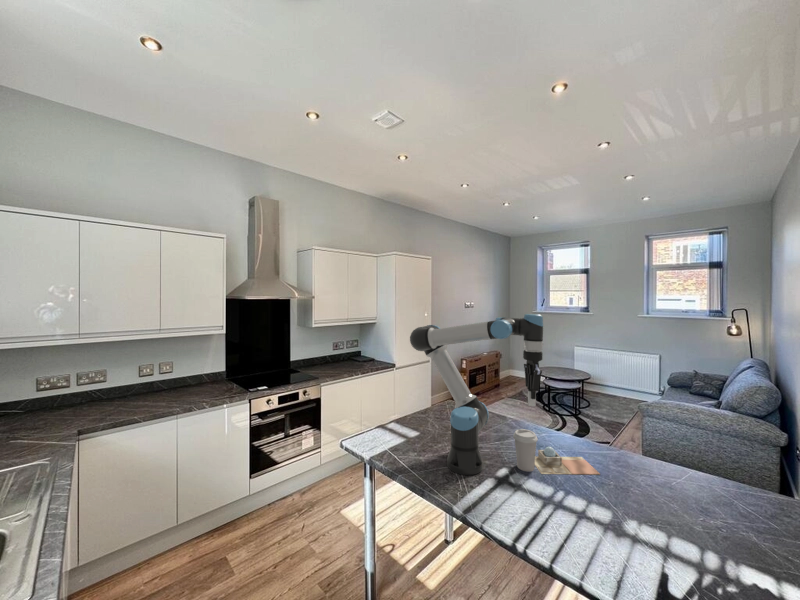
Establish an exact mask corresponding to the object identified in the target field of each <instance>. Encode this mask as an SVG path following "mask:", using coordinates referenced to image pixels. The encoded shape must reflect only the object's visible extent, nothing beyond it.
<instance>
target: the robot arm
mask: <svg viewBox="0 0 800 600" xmlns="http://www.w3.org/2000/svg"><path fill="white" fill-rule="evenodd" d="M510 336H521V337H523V345H522V347H523V348H522V349H523V350H522V355H523V357H522V358H523V360H525V361H526V363H523V368H524V380H525V387H527V406H528V407H536V404H537V403H536V401H537V392H539V390H540V385H541V376H542V373H543V369H540V365H539V364H540V363H539V362H541V361H543V346H544V341H543V338H544V316H542V315H541V314H538V313H535V314H534V313H526V314H524V316H523V317H522V318H521V317H520V318H516V317H515V318H514V317H504V316H503V317H496V318H495V319H494V320H490V321H483V322H477V323H469V324H463V325H456V326H448V327H442V328H441V327H440V326H438V325H436V324H435V325H433V324H429V325H425V326H424V325H423V326H418V327H416V328H415V329H413V330H412V332H411V333H410V336H409V342H410V345H411V346H412V348H413V349H415V350H416V351H418V352H424V354H425V356H426V357H428V358H431V360H432V362H433V364H434V366H435V367H436V369H437V371H438V373H439V375H440V376H441V379H442V380H443V382H444V384H445V386H446V388H447V389H448V391H449V394H450V395H451V396H452V398H453V401H454V403H455V405H454V409H453V410H452V411H451V412H450V418H449V422H450V449H449V452H448V455H447V457H446V465H447V468H448V469H449V470H450V471H452V472H453V473H456V474H459V475H462V476H463V475H464V476H472V475H476V474H479V473H481V472H482V471H483V468H484V460H483V457H482V455H481V452H480V449H479V433H480V432H481V430H482V429H483V428H484V427H485V426H486V425H487V423H488V421H489V416H490V415H489V414H490V413H489V410H488V407H487V405H486V404H485V403H484V402H481V401H480V400H479V398H478V397H477V395H475V394H472V393H471V391H470V389H469V387H468V385H467V384H466V382H465V380H464V379H463V377H462V375H461V373H460V371H459V369H458V368H457V366H456V364H455V363H454V361H453V359H452V357H451V355H450V353H449V351H448V350H447V347H448V345H449V346H450V345H456V344H465V343H473V342H474V343H475V342H481V341H482V342H483V341H489V340H504V339H508V338H509V337H510Z"/></svg>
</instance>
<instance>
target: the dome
mask: <svg viewBox="0 0 800 600" xmlns="http://www.w3.org/2000/svg"><path fill="white" fill-rule="evenodd" d="M543 450H544V455H545V456H546V457H555V451H556V450H555V449H554V448H553V447H552V446H546V447H545V448H544V449H543ZM554 450H555V451H554Z"/></svg>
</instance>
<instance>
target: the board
mask: <svg viewBox="0 0 800 600" xmlns="http://www.w3.org/2000/svg"><path fill="white" fill-rule="evenodd" d="M554 451H555V457H546V456H545V455H544V449H538V451H537V452H538V453H537V454H538V455H537V456H536V455H535V466H534V467H536V468H537V470H538V472H539V473H540V474H541V475H577V476H578V475H580V476H581V475H586V476H589V475H590V476H594V475H595V476H600V475H601V473H600V472H599V471H598V470H597V469H596V468H594V466H592V465H591V464H590V462H588V461H587V460H586V459H585V458H584V457H582V456H560V454H559V453H558V452H557V451H556V450H555V449H554Z"/></svg>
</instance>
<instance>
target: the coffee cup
mask: <svg viewBox="0 0 800 600" xmlns="http://www.w3.org/2000/svg"><path fill="white" fill-rule="evenodd" d="M512 437H513V439H514V446H515V455H516V456H515V457H516V467H517V469H519V470H521V471H522V472H528V473H529V472H533V471H534V470H535V467H536V466H535V456H536V452H537V451H536V450H537V442H538V440H539V439H538V436H537V435H536V433H535V432H534V431H532V430H529V429H523V428H520V429H516V430H515V431H514V433H513V435H512Z"/></svg>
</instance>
